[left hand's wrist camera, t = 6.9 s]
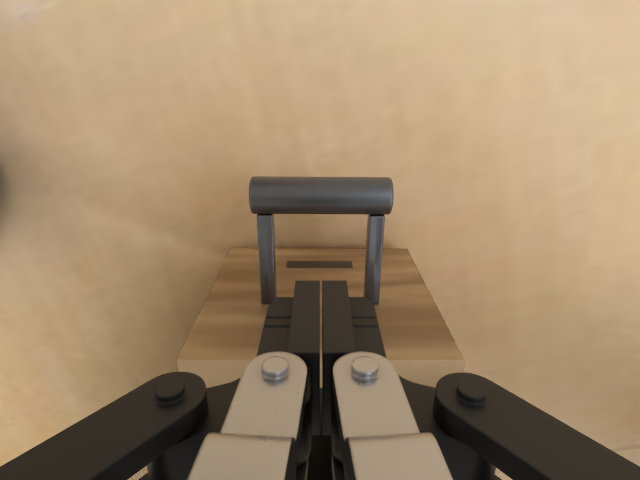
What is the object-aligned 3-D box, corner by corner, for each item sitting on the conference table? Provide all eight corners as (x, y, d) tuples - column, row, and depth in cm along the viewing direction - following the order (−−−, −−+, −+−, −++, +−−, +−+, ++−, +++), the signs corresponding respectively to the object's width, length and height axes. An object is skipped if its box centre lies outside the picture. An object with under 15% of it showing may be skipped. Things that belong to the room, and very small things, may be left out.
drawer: (223, 150, 21) (153, 207, 12) (416, 151, 21) (489, 210, 12) (250, 509, 31) (223, 691, 22) (383, 509, 31) (411, 689, 22)
